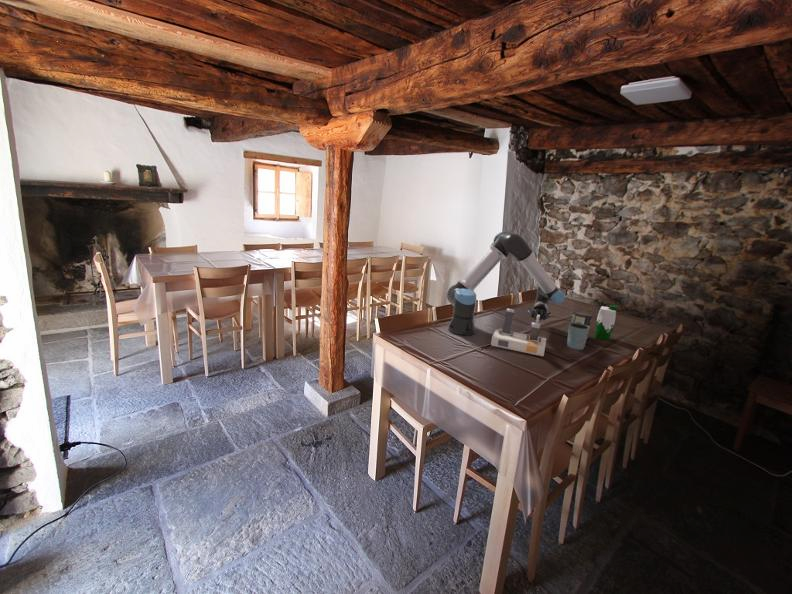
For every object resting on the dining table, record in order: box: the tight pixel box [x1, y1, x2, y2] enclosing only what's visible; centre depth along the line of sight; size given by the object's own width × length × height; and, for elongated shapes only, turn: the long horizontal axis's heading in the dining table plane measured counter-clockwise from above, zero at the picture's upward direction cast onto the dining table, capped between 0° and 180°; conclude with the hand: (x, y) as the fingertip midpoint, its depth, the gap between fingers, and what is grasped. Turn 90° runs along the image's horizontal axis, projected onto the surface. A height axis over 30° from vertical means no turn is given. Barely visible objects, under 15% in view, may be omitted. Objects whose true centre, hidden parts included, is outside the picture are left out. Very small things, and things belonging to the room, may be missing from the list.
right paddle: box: [529, 322, 541, 341], centre depth 192 cm, size 4×2×13 cm
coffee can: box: [570, 310, 593, 339], centre depth 223 cm, size 10×10×14 cm
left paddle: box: [502, 308, 515, 333], centre depth 204 cm, size 4×2×13 cm, turn 67°
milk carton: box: [594, 304, 618, 342], centre depth 222 cm, size 9×9×20 cm
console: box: [490, 328, 547, 357], centre depth 201 cm, size 26×14×7 cm, turn 67°
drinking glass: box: [566, 322, 591, 351], centre depth 206 cm, size 10×10×12 cm
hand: (537, 320), depth 206 cm, fingers closed
